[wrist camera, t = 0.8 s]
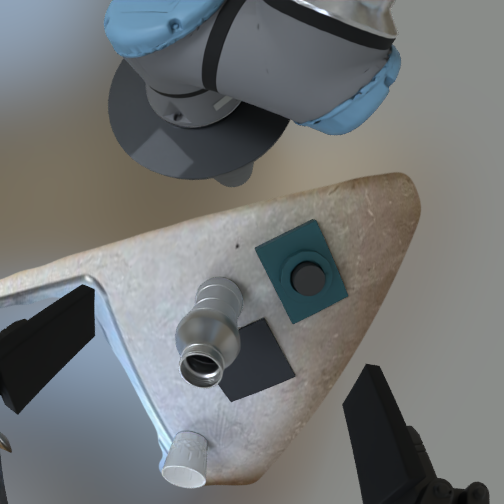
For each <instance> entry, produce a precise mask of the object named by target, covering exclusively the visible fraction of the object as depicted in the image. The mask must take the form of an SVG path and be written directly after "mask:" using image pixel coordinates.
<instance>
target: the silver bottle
mask: <svg viewBox="0 0 504 504" xmlns="http://www.w3.org/2000/svg"><path fill="white" fill-rule="evenodd" d="M242 308H243V297H242V294H241V292H240V290H239V288H238V287H237V285H236V284H235V283H234V282H232V281H231V280H229V279H226V278H222V277H215V278H211V279H209V280H207V281H205V282H204V283H202V284H201V285H200V287H199V288H198V290H197V293H196V297H195V306H194V307H193V309H192V310H191V311H190V312H189V313H188V314H187V315H186V316H185V317H184V318H183V319H182V320H181V321H180V323H179V324H178V326H177V329H176V334H175V340H176V347H177V350H178V352H179V354H180V356H181V357H180V362H179V372H180V375H181V377H182V378H183V379H184V380H185V381H186V382H187V383H188V384H190V385H191V386H194V387H196V388H201V389H208V388H212V387H214V386H216V385H217V384H218V383H219V382H220V381H221V379H222V376H223V371H224V369H225V368H227V367H228V366H229V365H231V364H232V362H233V361H234V360H235V359H236V357H237V356H238V354H239V351H240V347H241V342H240V334H239V330H238V327H237V319H238V317H239V315H240V313H241V311H242Z"/></svg>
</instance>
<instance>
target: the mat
mask: <svg viewBox="0 0 504 504" xmlns="http://www.w3.org/2000/svg"><path fill="white" fill-rule="evenodd" d="M239 334H240V342H241V347H240V351H239V354H238V356H237V357H236V359H235V360H234V361H233V362H232V364H231V365H229V366H228V367H227V368H225V369H224V371H223V376H222V379H221V381H220V382H219V383H218V385H219V386H220V388H221V389H222V390H223V392H224V393H225V395H226V396H227V397H228V399H229V400H230V401H231V402H233V401H235V400H238V399H241V398H244V397H246V396H249V395H252V394H254V393H257V392H260V391H262V390H265V389H267V388H270V387H272V386H275V385H277V384H279V383H282V382H284V381H286V380H289V379H291V378H293V377H295V374H294V372H293V371H292V369H291V367H290V365H289V363H288V361H287V360H286V358H285V356H284V354H283V352H282V351H281V349H280V347H279V345H278V343H277V341H276V340H275V338H274V336H273V334H272V332H271V330H270V329H269V327H268V325H267V323H266V321H265V319H264V318H263V319H261V320H258V321H256V322H254V323H252V324H250V325H247V326H245V327H243V328H241V329H239Z"/></svg>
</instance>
